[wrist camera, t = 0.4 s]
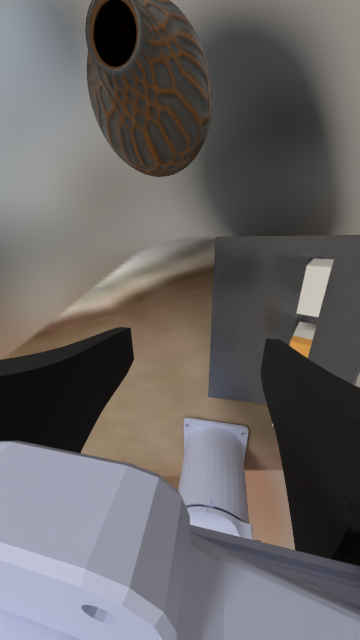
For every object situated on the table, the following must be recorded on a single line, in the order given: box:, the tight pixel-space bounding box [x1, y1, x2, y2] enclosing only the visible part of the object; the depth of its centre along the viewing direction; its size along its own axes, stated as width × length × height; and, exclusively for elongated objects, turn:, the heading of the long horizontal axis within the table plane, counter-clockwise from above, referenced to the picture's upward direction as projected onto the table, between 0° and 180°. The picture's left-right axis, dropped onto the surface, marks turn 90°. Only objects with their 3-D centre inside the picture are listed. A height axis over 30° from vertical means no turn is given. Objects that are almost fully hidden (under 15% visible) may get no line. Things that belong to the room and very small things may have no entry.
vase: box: [86, 0, 212, 177], centre depth 12 cm, size 7×7×9 cm
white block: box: [297, 259, 334, 317], centre depth 14 cm, size 3×1×4 cm, turn 1°
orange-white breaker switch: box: [289, 322, 317, 358], centre depth 16 cm, size 3×1×4 cm, turn 1°
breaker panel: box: [208, 235, 360, 404], centre depth 19 cm, size 16×16×2 cm
